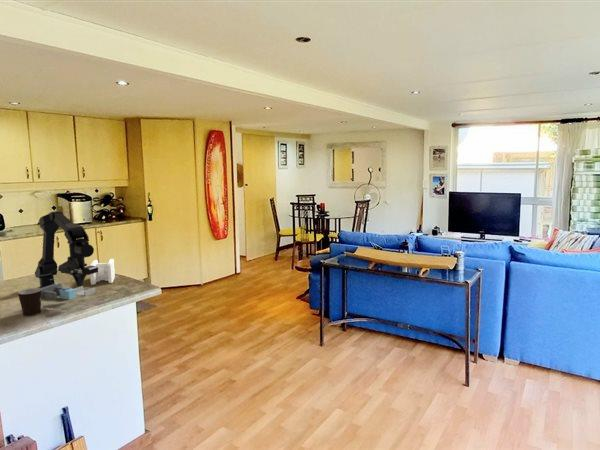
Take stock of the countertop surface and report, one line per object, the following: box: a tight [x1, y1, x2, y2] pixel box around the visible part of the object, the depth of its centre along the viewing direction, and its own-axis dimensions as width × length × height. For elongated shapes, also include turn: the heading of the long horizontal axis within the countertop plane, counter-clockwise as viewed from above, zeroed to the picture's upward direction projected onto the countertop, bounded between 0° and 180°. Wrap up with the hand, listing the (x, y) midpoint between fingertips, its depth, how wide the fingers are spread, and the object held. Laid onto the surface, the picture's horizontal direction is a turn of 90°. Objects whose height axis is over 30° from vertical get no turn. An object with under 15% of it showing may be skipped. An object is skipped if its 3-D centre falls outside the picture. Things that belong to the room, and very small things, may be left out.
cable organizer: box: [89, 258, 116, 286], centre depth 225 cm, size 15×11×12 cm
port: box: [40, 282, 65, 301], centre depth 202 cm, size 11×12×6 cm
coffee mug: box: [17, 287, 42, 317], centre depth 180 cm, size 12×9×10 cm
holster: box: [74, 285, 96, 296], centre depth 206 cm, size 9×6×3 cm
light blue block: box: [59, 286, 77, 300], centre depth 199 cm, size 6×4×6 cm, turn 70°
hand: (79, 286), depth 195 cm, fingers closed
